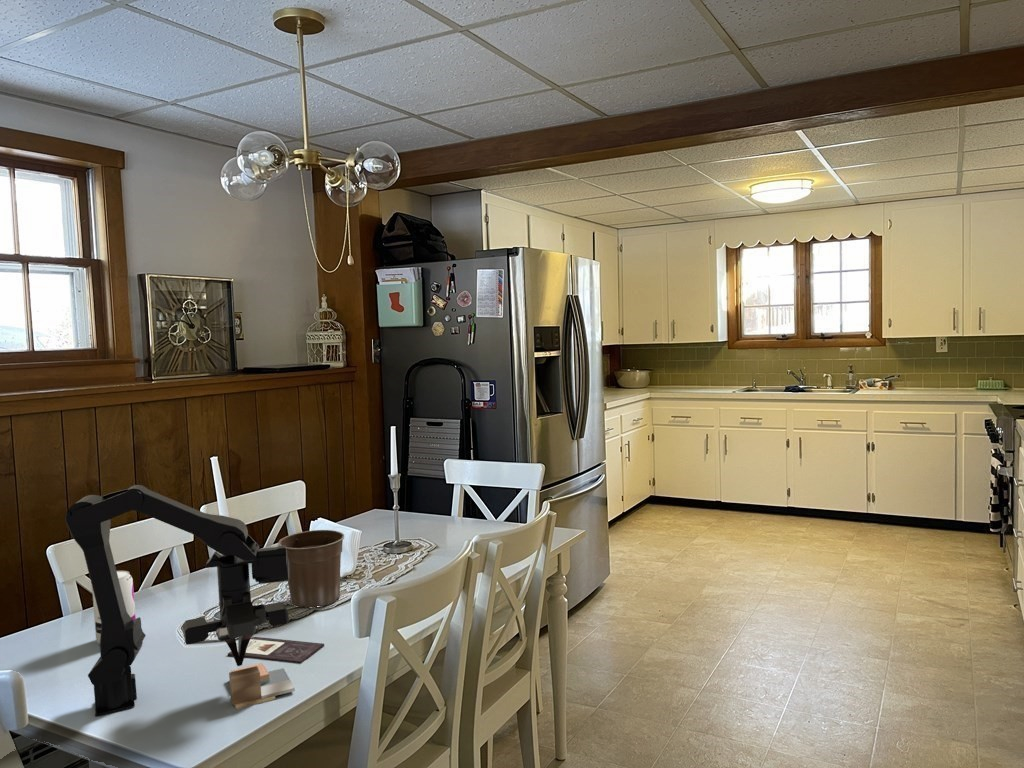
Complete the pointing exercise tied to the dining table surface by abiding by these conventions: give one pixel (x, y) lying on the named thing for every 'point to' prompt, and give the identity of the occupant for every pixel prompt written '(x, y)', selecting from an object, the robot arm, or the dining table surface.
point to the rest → (253, 702)
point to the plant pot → (314, 567)
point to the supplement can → (128, 597)
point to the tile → (263, 672)
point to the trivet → (276, 676)
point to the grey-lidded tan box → (254, 686)
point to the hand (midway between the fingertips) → (239, 665)
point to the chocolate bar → (280, 649)
